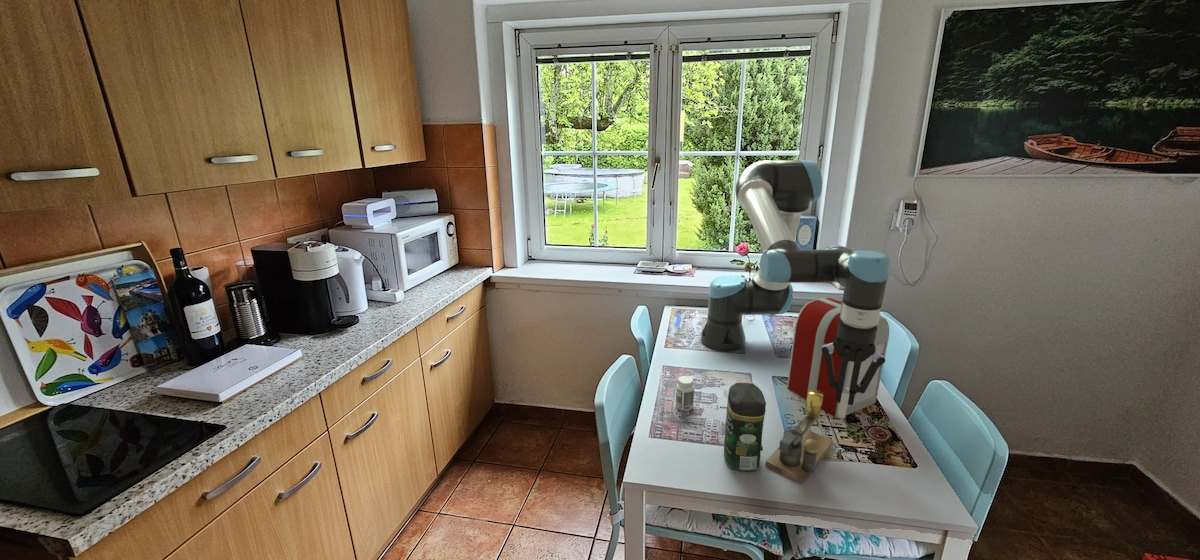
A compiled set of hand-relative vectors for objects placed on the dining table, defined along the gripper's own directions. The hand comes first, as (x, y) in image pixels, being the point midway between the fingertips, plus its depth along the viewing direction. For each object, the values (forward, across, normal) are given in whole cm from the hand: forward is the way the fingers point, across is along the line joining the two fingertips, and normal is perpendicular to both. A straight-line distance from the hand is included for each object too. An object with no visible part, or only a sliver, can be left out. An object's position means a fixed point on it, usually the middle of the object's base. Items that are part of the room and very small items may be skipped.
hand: (841, 414), depth 114 cm
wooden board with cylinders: (+10, -7, -6) cm, 13 cm away
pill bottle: (+10, -38, +2) cm, 39 cm away
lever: (+4, -8, -7) cm, 11 cm away
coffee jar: (+10, -20, -14) cm, 26 cm away
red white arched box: (+10, -2, +25) cm, 27 cm away
